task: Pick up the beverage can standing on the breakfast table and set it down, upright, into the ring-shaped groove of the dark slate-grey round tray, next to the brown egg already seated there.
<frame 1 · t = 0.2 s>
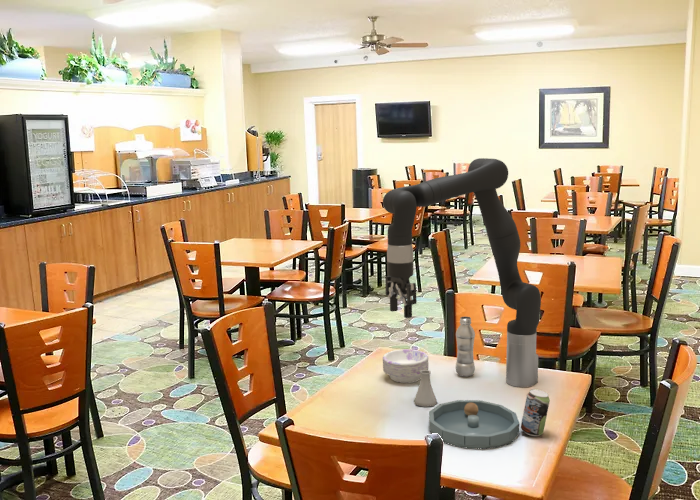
hand: (400, 314, 196), 29 cm above the table, fingers open, 8 cm apart
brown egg: (471, 416, 192), point 1 cm above the table, touching tray
tray: (473, 429, 186), on the table
paper bowls: (405, 379, 226), on the table
flask: (425, 403, 205), on the table
plastic bottle: (465, 375, 228), on the table
beverage can: (534, 434, 183), on the table
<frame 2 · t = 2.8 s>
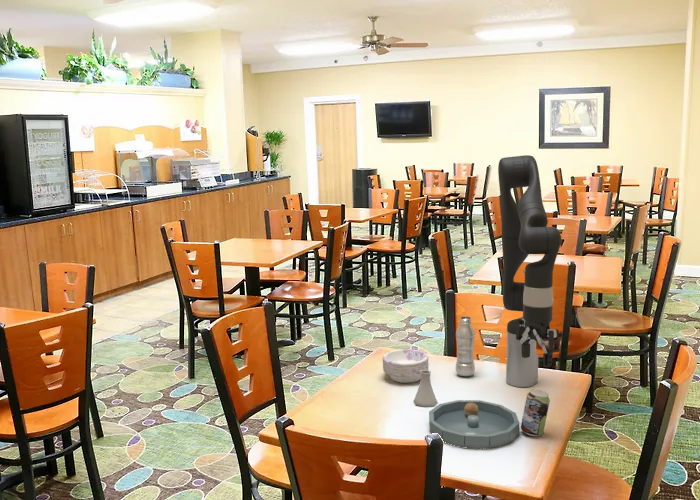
hand: (536, 361, 179), 20 cm above the table, fingers open, 8 cm apart
nothing on the table moved.
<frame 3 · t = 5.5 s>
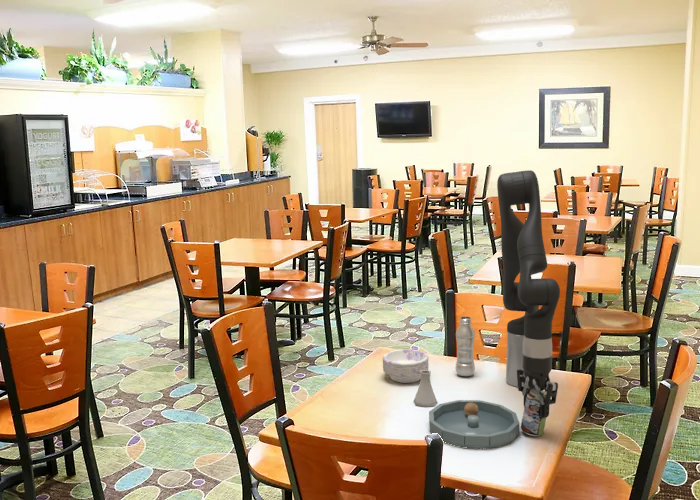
hand: (535, 412, 181), 6 cm above the table, fingers closed on beverage can, 6 cm apart
beverage can: (534, 434, 183), on the table, touching gripper
everything else where it was.
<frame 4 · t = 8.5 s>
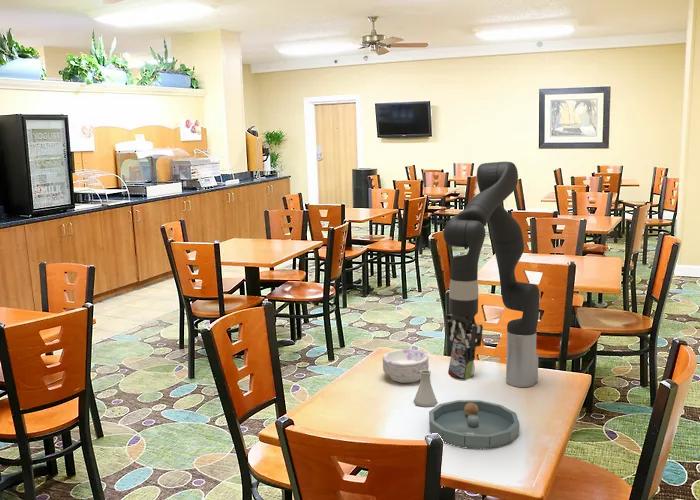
hand: (462, 357, 180), 22 cm above the table, fingers closed on beverage can, 6 cm apart
beverage can: (461, 379, 181), point 15 cm above the table, touching gripper
everything else where it was.
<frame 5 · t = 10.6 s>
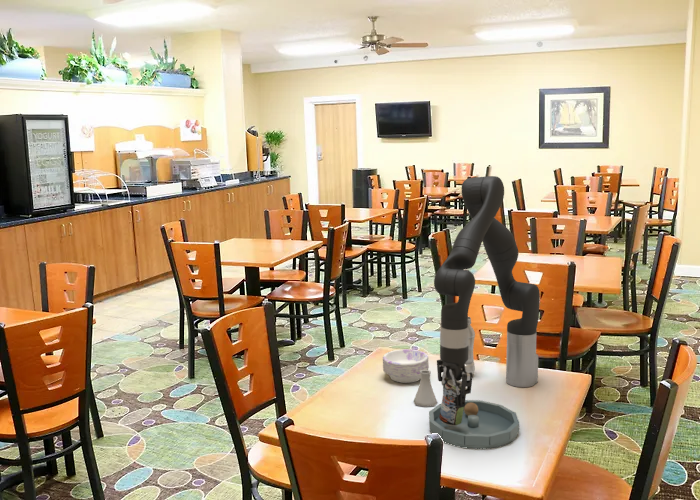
hand: (453, 402, 182), 9 cm above the table, fingers closed on beverage can, 6 cm apart
beverage can: (452, 424, 184), point 3 cm above the table, touching gripper
everything else where it was.
when the fingers open (8 cm above the table, at t = 12.0 s): beverage can stays where it is, resting on tray.
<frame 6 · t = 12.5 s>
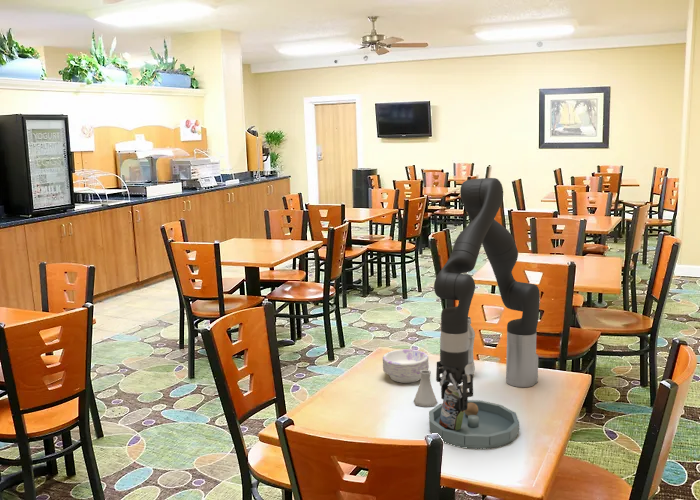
hand: (454, 404, 182), 8 cm above the table, fingers open, 8 cm apart
beverage can: (452, 429, 184), point 1 cm above the table, touching tray
everything else where it was.
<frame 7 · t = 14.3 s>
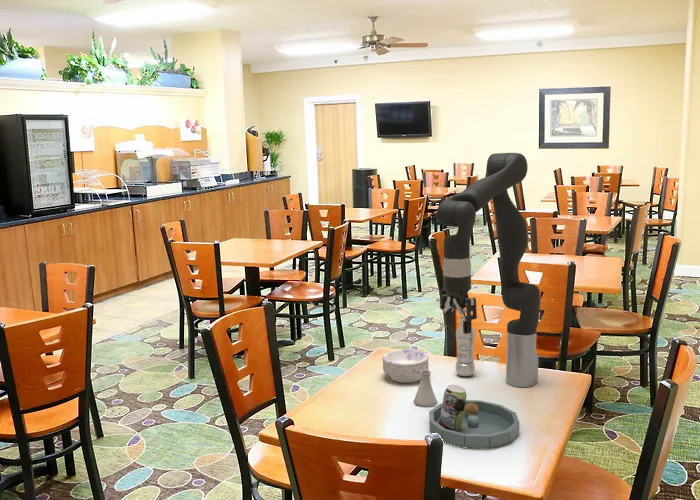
hand: (458, 329, 189), 26 cm above the table, fingers open, 8 cm apart
nothing on the table moved.
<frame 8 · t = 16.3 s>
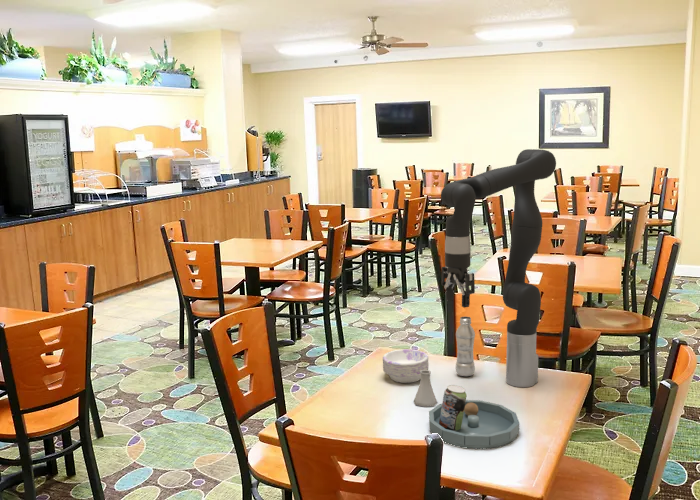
hand: (457, 303, 203), 30 cm above the table, fingers open, 8 cm apart
nothing on the table moved.
at the end: beverage can inside the target area (0.7 cm from its centre), point 0.8 cm above the table; beverage can tilted 0°; the gripper is holding nothing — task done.
